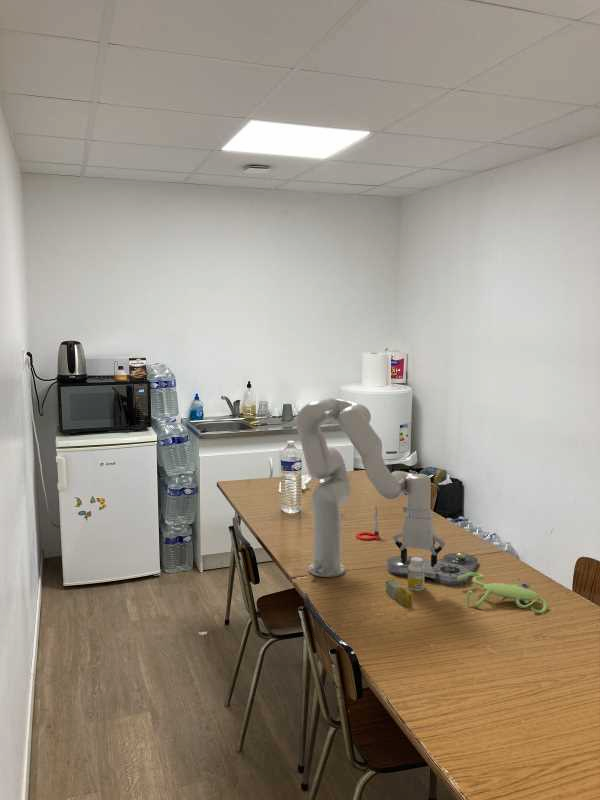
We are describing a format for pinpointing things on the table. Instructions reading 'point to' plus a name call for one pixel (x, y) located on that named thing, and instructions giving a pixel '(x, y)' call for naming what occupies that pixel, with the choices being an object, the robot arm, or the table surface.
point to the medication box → (398, 593)
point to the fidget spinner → (459, 559)
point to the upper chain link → (426, 568)
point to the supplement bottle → (416, 574)
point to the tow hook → (375, 535)
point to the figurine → (505, 592)
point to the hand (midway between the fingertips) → (418, 563)
